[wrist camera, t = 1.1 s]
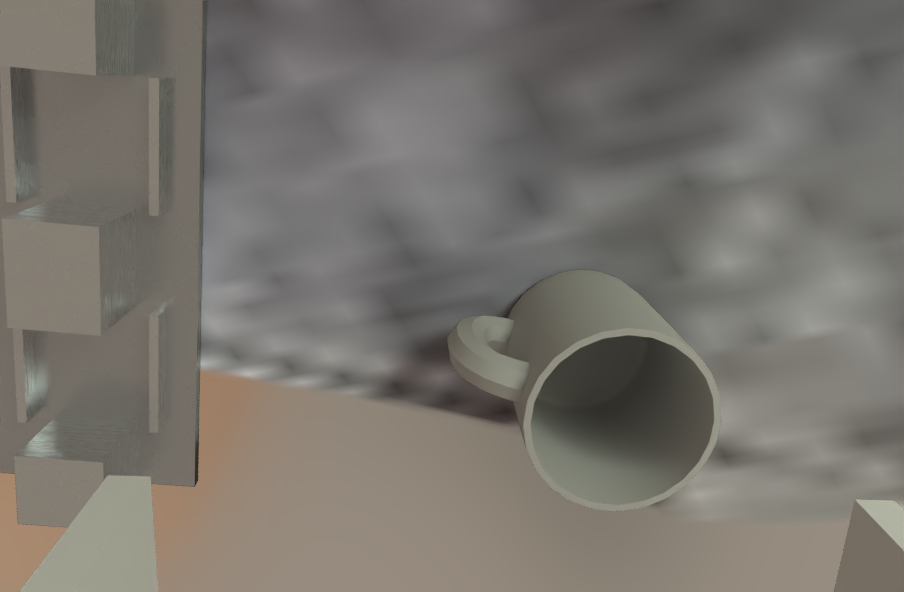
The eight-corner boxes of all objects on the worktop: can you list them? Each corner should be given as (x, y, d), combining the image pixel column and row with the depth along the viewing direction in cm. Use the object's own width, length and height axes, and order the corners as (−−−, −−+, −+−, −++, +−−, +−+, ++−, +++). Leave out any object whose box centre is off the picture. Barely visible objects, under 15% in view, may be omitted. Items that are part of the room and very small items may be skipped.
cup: (624, 426, 38) (683, 528, 30) (425, 379, 37) (426, 472, 29) (673, 287, 36) (750, 354, 28) (465, 234, 35) (478, 287, 27)
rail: (-21, -25, 32) (-92, -40, 27) (206, 1, 32) (172, -10, 28) (7, 466, 38) (-49, 519, 33) (198, 480, 38) (168, 534, 34)
